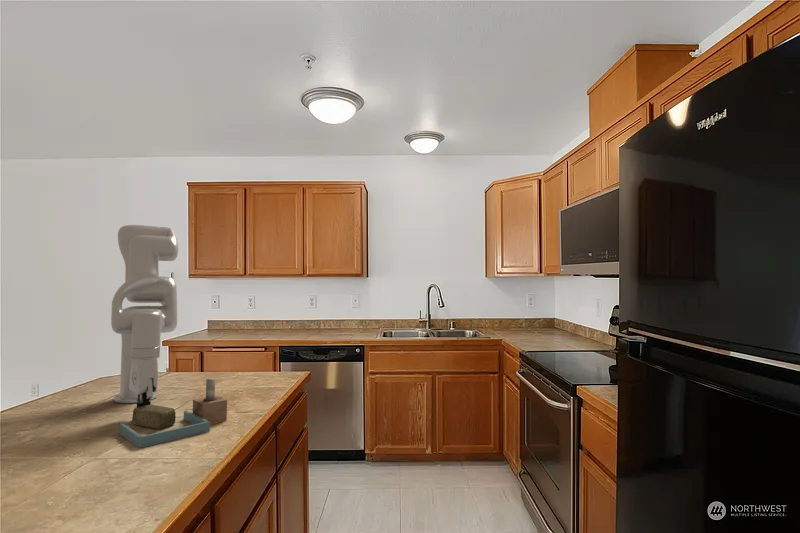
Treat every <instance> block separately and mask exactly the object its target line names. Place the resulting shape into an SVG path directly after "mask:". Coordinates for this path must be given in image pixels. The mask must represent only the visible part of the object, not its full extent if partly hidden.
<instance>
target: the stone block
mask: <svg viewBox="0 0 800 533" xmlns="http://www.w3.org/2000/svg"><path fill="white" fill-rule="evenodd" d="M176 417H177V416H176V410H175V408H173V407H169V406H163V405H156V404H155V405H154V404H151V405H145V406H141V407H137V406H136V407H134V409H133V411H132V417H131V418H132V419H131V423H132V424H134V425H137V426H140V427H145V428H151V429H158V430H159V429H164V428H167V427H171V426H173V425H175V424H176Z"/></svg>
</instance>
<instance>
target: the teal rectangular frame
mask: <svg viewBox="0 0 800 533" xmlns="http://www.w3.org/2000/svg"><path fill="white" fill-rule="evenodd" d="M183 420H184V421H186V422H187V421H188V423H189V422H190V423H189V424H191V425H185V426H181V427H177V428H176V427H175V428H173V429H168V430H163V431H159V432H154V433H150V434H145V435H141V434H140V433H138V432H137V431H135V430H133V428H131V427H130V426H128V425H127V424H125V423H124V422H120V423H119V425H118V426H119V428H118V434H119V435H121V436H122V437H124V438H125V439H126V440H128V441H129V442H130V443H132V444H133V445H134V446H136V447H137V448H138V449H140V448H145V447H148V446H153V445H158V444H162V443H165V441H166V442H170V441H174V439H175V440H178V439H181V438H186V437H191V436H195V435H199V434H203V433H207V432H210V431H211V424H210V422H209V421H207V420H205V419H203V418H201V417H199V416H197V415H195V414H193V412H191V411H189V410H184V411H183ZM169 440H170V441H169Z"/></svg>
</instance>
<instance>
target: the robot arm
mask: <svg viewBox="0 0 800 533" xmlns="http://www.w3.org/2000/svg"><path fill="white" fill-rule="evenodd" d="M118 229H119V230H118V232H117V242H118V247H119V250H120V254H121V256H122V259H123V262H124V265H125V266H124V268H125V271H124V272H125V273H124V274H125V276H124V278H125V279H124V280H125V281H124V283H123V284H121V286H120V287H119V288H118V289H117V290H116V292H115V293H114V295H113V298H112V301H111V320H110V324H111V329H112V331H113V333H116V334H119V335H121V336H120V337H121V353H120V354H121V356H120V358H121V359H120V378H119V379H120V381H119V384H120V385H119V394H117V395H115V396H114V397H113V398H114V400H113V401H114V402H116V403H120V404H134V403H136V408H137V407H141V406H145V405H152V404H151V403H152V400H154V399H156V398H157V397H158V393H157V391H158V386H159V367H158V359H160V357H161V356H160V355H161V334H163V333H165V334H167V333H171V332H174V331H175V330H176V328H177V327H178V326H177V325H178V302H177V301H178V292H177V291H178V290H177V284H176V281H175V280H174V278H173V277H170V276H162V275H161V276H160V275H159V274H160V273H159V262H160V261H161V262H174V261H175V260H177V257H178V253H179V244H178V238H177V237H176V234H175V231H174V230H173V229H172V228H171V227H165V226H158V225H157V226H156V225H155V226H153V225H146V224H145V225H143V224H141V225H140V224H128V225H123V226H121V227H119V228H118ZM125 298H126V300H127V301H128V302H130V303H135V304H157V303H158V304H161V305H134V306H128V307H126V308H123V302H124V299H125Z"/></svg>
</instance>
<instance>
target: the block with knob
mask: <svg viewBox="0 0 800 533" xmlns="http://www.w3.org/2000/svg"><path fill="white" fill-rule="evenodd" d="M205 382H206V383H205V385H206V386H205V397H198V398H193V399H192V413H193V414H195V415H197V416H199V417H201V418H203V419H205V420H207V421H209V422H210V425H213V424H216V423H220V422H226V421H227V419H228V418H227V417H228V399H226V398H224V397H222V396H219V395H215V394H216V392H215V391H216V378H213V377H210V378H206V381H205Z"/></svg>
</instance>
